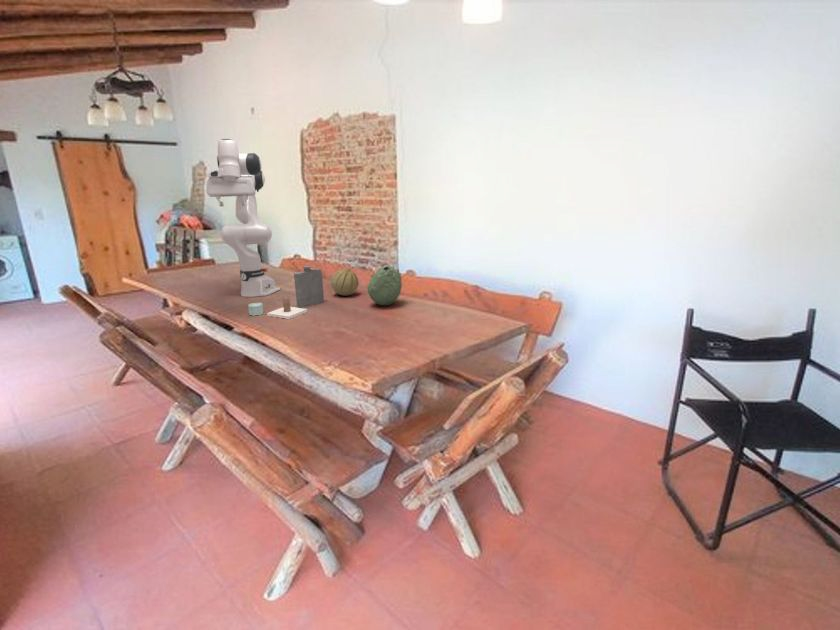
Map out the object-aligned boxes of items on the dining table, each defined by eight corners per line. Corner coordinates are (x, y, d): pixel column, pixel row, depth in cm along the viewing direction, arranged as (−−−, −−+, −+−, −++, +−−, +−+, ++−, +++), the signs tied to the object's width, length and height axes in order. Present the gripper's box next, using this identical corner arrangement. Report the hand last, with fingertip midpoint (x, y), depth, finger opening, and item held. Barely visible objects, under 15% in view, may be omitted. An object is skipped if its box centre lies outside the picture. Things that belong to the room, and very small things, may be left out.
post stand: (286, 308, 217) (284, 292, 215) (307, 312, 212) (305, 295, 209) (267, 316, 206) (265, 298, 204) (288, 319, 201) (287, 301, 198)
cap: (256, 311, 214) (255, 301, 212) (266, 312, 211) (265, 303, 210) (246, 314, 208) (245, 305, 207) (256, 316, 206) (255, 306, 204)
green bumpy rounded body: (361, 306, 220) (359, 267, 214) (386, 298, 235) (384, 261, 229) (384, 311, 211) (383, 271, 205) (408, 303, 226) (408, 264, 220)
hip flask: (299, 308, 218) (295, 269, 212) (294, 307, 220) (291, 268, 214) (325, 301, 229) (322, 264, 223) (320, 300, 232) (317, 263, 226)
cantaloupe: (329, 293, 246) (327, 267, 241) (354, 290, 252) (353, 265, 247) (336, 299, 233) (334, 272, 228) (362, 296, 239) (361, 269, 234)
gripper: (255, 177, 201) (258, 206, 201) (208, 177, 197) (210, 208, 197) (253, 172, 195) (255, 203, 195) (204, 173, 191) (206, 204, 191)
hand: (232, 205), depth 196 cm, fingers open, 8 cm apart
